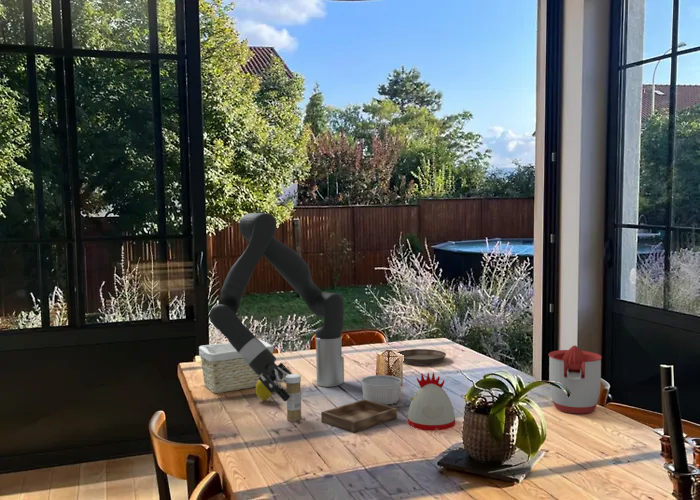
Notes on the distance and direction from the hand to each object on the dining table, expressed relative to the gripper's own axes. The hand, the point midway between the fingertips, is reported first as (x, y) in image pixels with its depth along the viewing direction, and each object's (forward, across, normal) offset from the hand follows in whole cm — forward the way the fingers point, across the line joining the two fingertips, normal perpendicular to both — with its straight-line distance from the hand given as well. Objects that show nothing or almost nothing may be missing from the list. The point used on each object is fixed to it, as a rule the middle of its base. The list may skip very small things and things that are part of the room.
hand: (293, 395), depth 197 cm
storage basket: (-19, +31, +30) cm, 47 cm away
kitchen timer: (+34, +7, -24) cm, 42 cm away
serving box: (+19, +4, -9) cm, 21 cm away
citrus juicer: (+63, +29, -52) cm, 87 cm away
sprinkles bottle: (+5, 0, +5) cm, 7 cm away
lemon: (-6, +15, +17) cm, 24 cm away
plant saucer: (+22, +83, -11) cm, 87 cm away
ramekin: (+20, +25, -10) cm, 34 cm away
